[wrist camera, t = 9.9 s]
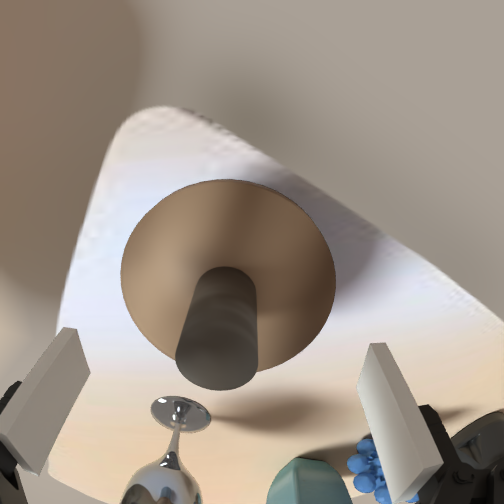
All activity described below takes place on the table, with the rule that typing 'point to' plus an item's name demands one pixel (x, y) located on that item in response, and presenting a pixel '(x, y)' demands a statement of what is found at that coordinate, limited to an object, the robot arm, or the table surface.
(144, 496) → the wine glass
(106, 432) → the table surface
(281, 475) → the flower pot
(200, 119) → the table surface
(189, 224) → the lid
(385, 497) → the grapes
